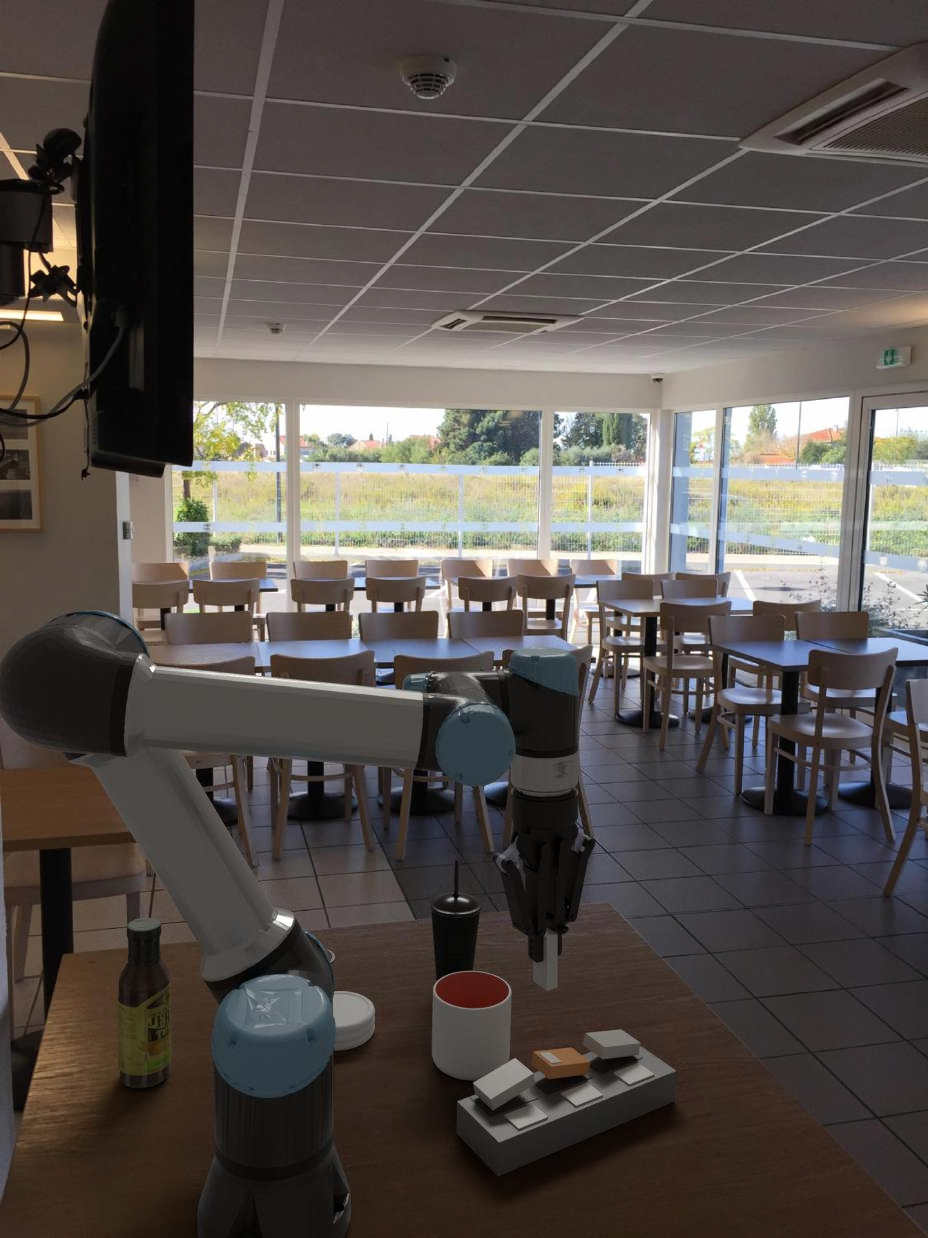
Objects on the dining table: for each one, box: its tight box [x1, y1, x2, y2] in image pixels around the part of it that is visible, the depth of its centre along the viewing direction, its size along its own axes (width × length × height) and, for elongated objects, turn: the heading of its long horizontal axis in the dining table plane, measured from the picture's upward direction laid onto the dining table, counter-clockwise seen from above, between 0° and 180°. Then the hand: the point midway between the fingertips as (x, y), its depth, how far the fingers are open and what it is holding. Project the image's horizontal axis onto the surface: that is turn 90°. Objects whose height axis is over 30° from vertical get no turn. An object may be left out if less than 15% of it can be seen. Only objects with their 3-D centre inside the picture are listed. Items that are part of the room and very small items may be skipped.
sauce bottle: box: [117, 917, 172, 1089], centre depth 125 cm, size 6×6×20 cm
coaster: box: [333, 990, 376, 1052], centre depth 138 cm, size 10×10×4 cm
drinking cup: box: [428, 859, 483, 983], centre depth 147 cm, size 8×8×20 cm
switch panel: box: [456, 1045, 677, 1177], centre depth 120 cm, size 26×8×4 cm, turn 123°
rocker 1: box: [472, 1058, 535, 1110], centre depth 117 cm, size 6×4×2 cm, turn 122°
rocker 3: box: [582, 1029, 642, 1059], centre depth 126 cm, size 6×4×2 cm, turn 123°
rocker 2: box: [530, 1047, 590, 1079], centre depth 121 cm, size 6×4×2 cm, turn 123°
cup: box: [431, 970, 512, 1081], centre depth 131 cm, size 10×10×10 cm
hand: (545, 984), depth 118 cm, fingers closed
